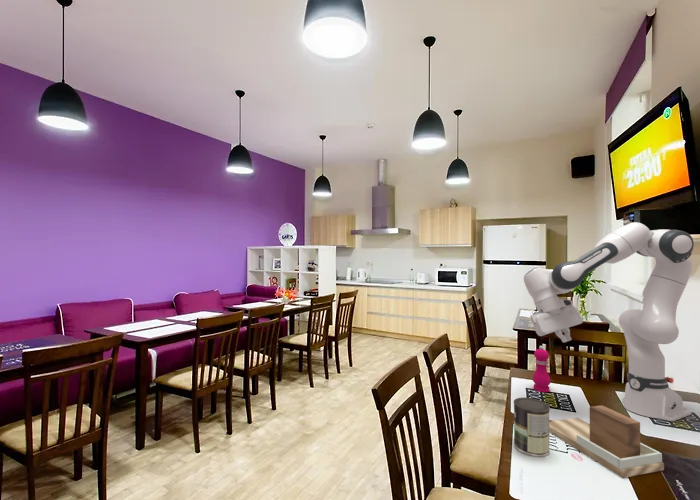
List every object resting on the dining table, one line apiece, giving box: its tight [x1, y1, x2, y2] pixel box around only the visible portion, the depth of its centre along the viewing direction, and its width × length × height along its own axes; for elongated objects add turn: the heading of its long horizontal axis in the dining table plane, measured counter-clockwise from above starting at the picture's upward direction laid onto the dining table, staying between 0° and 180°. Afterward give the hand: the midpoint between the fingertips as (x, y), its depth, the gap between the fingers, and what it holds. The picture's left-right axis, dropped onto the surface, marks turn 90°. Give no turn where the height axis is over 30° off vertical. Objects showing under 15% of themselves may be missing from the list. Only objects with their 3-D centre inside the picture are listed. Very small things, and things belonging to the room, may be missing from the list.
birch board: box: [549, 417, 665, 479], centre depth 115 cm, size 15×29×2 cm, turn 14°
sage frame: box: [577, 435, 663, 470], centre depth 109 cm, size 15×14×2 cm
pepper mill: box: [532, 345, 552, 393], centre depth 163 cm, size 7×7×20 cm
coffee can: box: [513, 397, 551, 458], centre depth 115 cm, size 10×10×14 cm
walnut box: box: [589, 405, 641, 459], centre depth 110 cm, size 5×12×11 cm, turn 14°
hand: (567, 341), depth 137 cm, fingers closed
